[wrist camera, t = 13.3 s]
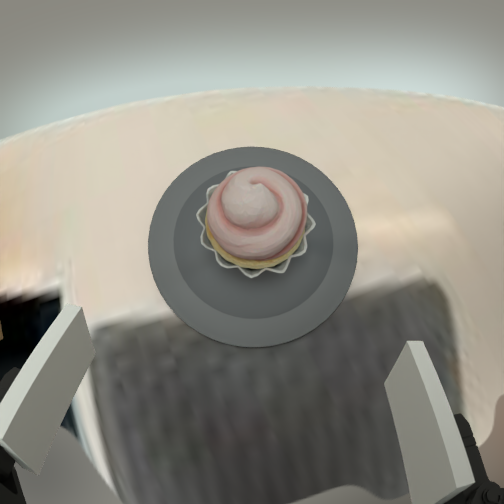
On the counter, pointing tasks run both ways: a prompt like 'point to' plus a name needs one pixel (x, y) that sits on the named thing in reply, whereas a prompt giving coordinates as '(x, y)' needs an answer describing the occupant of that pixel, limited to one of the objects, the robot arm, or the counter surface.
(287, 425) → the counter surface
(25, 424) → the robot arm
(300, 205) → the cupcake
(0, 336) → the sandwich container
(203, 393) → the counter surface
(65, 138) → the counter surface
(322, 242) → the slate plate
